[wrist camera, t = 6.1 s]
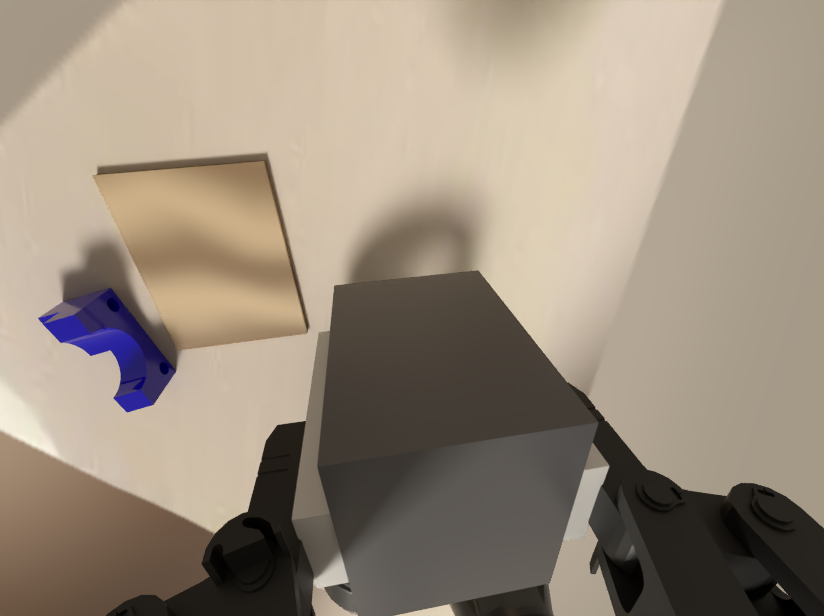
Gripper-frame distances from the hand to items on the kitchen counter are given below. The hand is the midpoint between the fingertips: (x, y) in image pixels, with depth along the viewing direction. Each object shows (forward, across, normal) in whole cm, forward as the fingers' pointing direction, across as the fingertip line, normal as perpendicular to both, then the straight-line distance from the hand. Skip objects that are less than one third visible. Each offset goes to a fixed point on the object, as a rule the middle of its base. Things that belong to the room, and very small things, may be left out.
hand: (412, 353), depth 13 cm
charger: (0, 0, 0) cm, 0 cm away
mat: (+15, +12, +1) cm, 19 cm away
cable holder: (+15, +20, +6) cm, 26 cm away
